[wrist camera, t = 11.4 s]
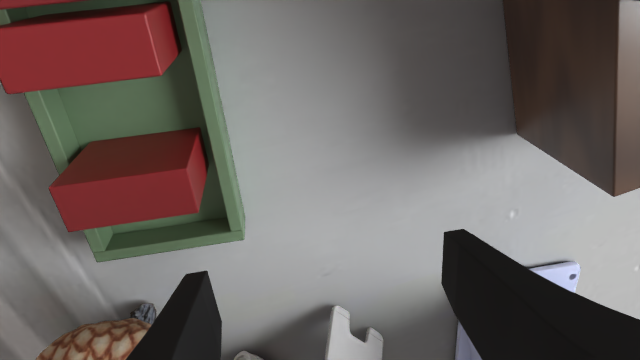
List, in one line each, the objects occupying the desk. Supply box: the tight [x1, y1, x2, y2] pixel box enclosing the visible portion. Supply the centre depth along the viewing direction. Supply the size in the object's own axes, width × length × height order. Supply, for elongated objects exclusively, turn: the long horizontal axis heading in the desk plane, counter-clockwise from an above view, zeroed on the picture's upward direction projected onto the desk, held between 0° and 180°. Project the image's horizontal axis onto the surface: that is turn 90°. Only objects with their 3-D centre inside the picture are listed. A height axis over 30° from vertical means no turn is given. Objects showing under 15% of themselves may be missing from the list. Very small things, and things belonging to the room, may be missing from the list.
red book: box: [49, 127, 209, 232], centre depth 18 cm, size 2×5×4 cm, turn 95°
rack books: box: [0, 0, 182, 94], centre depth 15 cm, size 4×5×4 cm
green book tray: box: [0, 0, 245, 262], centre depth 18 cm, size 15×7×2 cm, turn 5°
